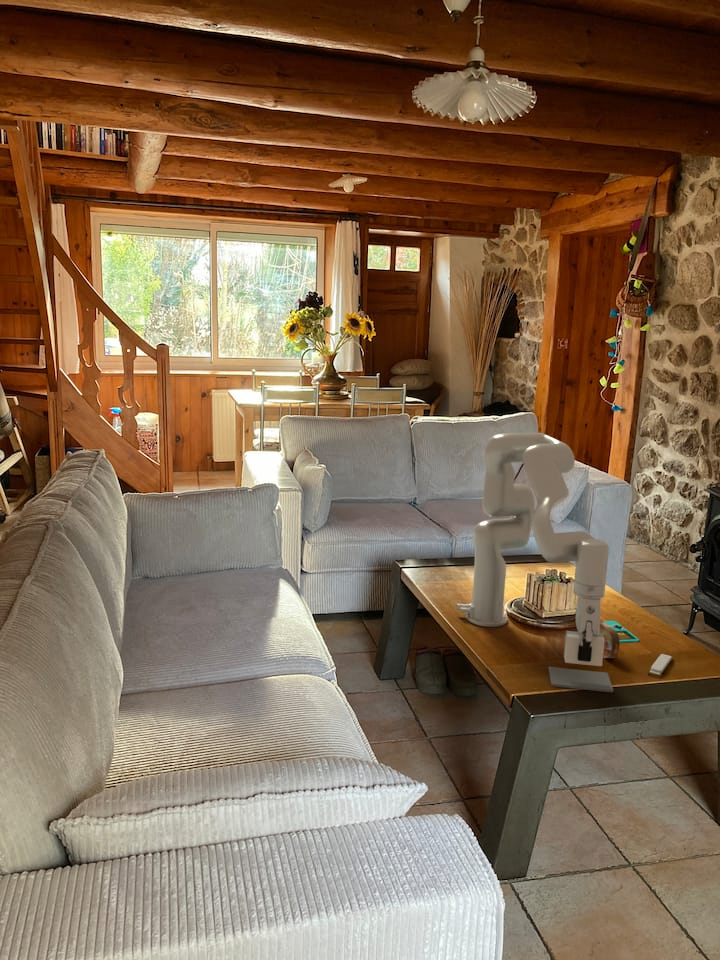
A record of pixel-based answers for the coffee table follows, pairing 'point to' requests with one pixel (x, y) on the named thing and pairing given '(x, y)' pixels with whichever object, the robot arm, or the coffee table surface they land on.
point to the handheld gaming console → (621, 629)
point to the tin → (609, 640)
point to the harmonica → (660, 665)
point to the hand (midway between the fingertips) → (583, 656)
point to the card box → (573, 644)
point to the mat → (580, 679)
